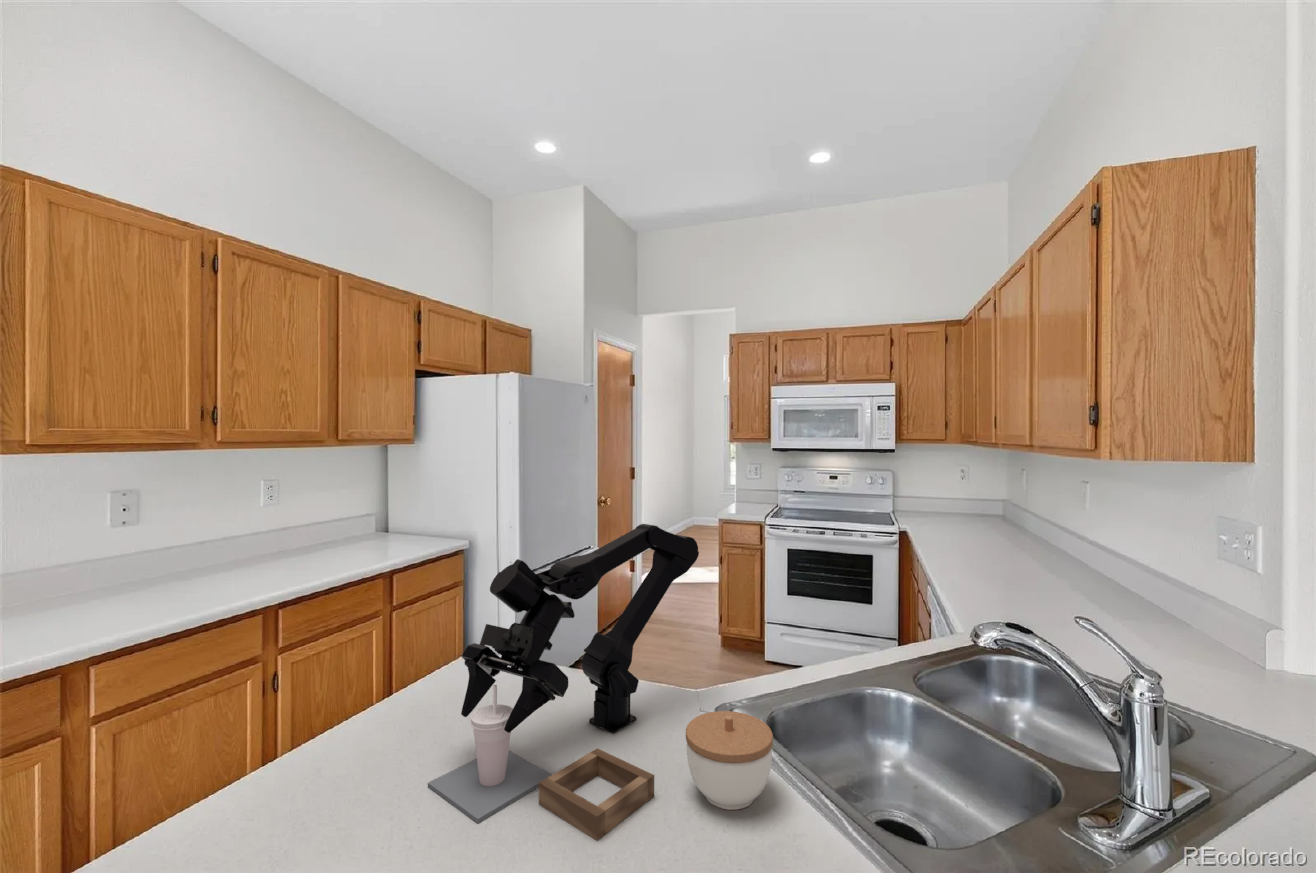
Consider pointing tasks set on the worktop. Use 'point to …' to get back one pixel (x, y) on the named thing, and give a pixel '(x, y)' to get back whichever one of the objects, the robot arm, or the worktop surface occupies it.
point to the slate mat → (488, 787)
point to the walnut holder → (608, 813)
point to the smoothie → (491, 741)
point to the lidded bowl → (729, 757)
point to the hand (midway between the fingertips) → (484, 723)
